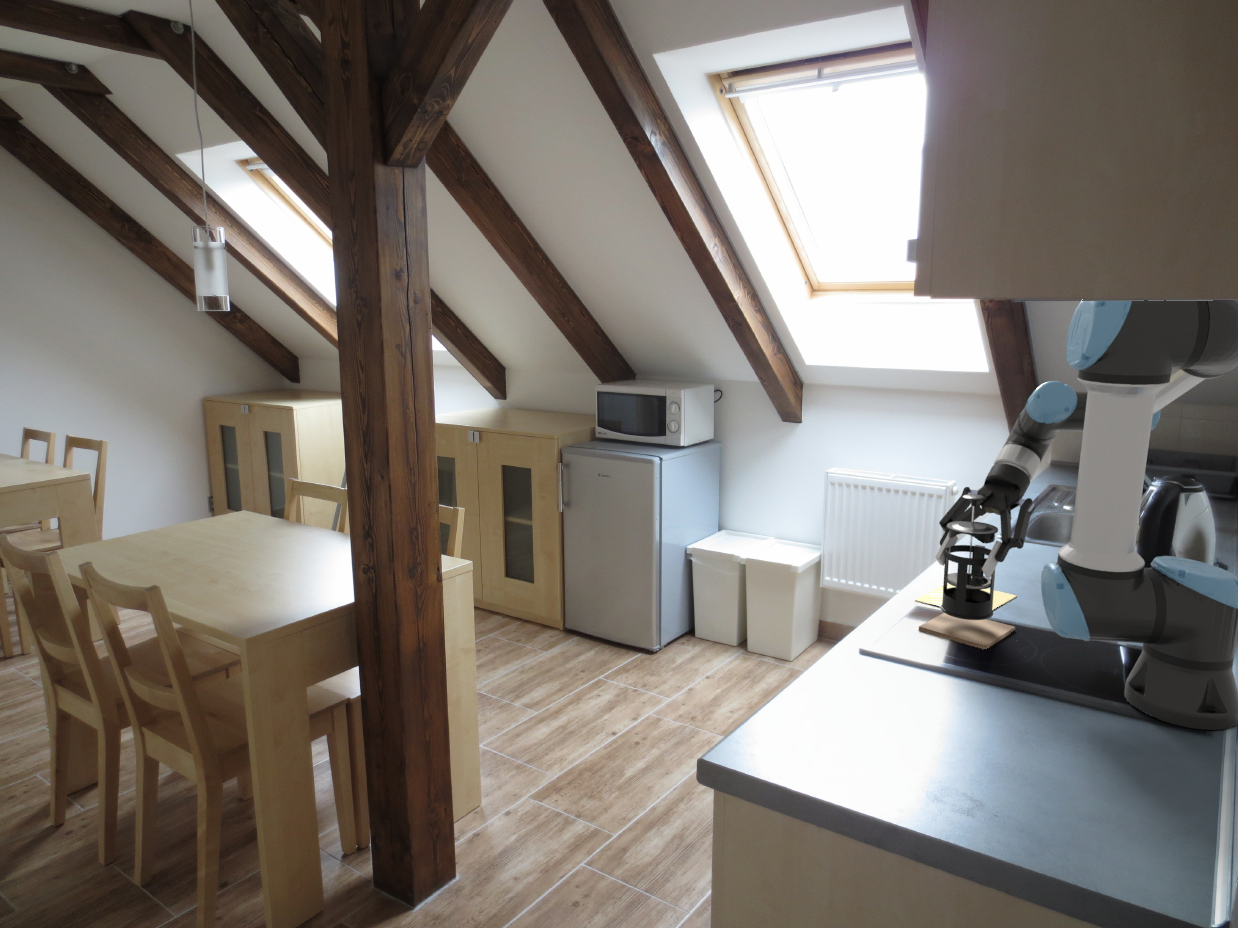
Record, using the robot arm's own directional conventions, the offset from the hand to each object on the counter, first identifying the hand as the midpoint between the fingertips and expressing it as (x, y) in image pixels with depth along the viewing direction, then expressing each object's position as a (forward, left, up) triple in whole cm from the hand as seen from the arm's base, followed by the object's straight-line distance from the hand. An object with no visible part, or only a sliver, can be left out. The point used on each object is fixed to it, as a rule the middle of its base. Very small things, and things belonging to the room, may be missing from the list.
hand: (962, 567), depth 156 cm
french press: (+3, 0, -10) cm, 10 cm away
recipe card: (+20, +8, -13) cm, 25 cm away
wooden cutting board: (+3, 0, -13) cm, 14 cm away
